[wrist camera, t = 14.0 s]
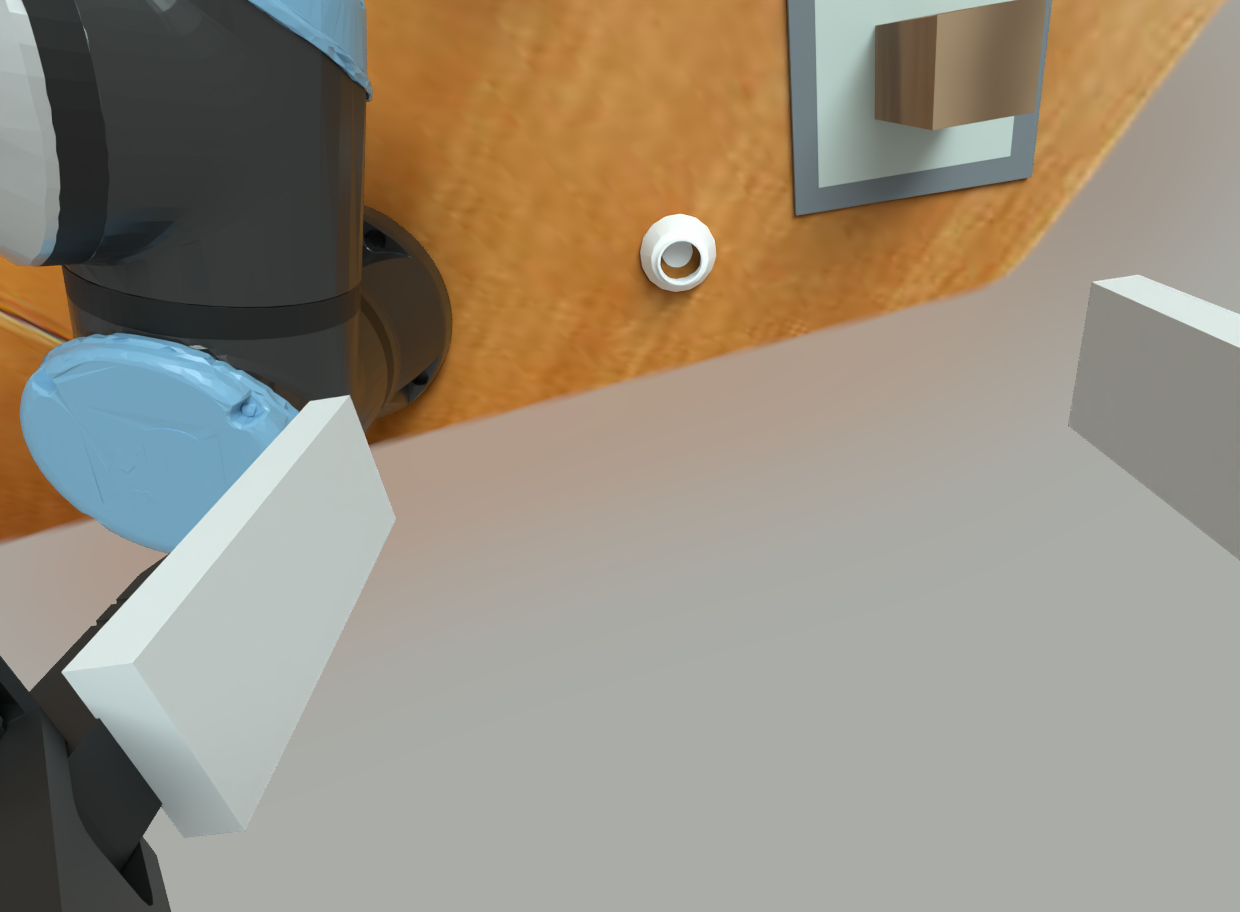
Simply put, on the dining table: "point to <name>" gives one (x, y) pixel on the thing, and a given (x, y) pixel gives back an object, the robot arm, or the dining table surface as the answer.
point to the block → (959, 65)
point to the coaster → (873, 149)
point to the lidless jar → (677, 250)
